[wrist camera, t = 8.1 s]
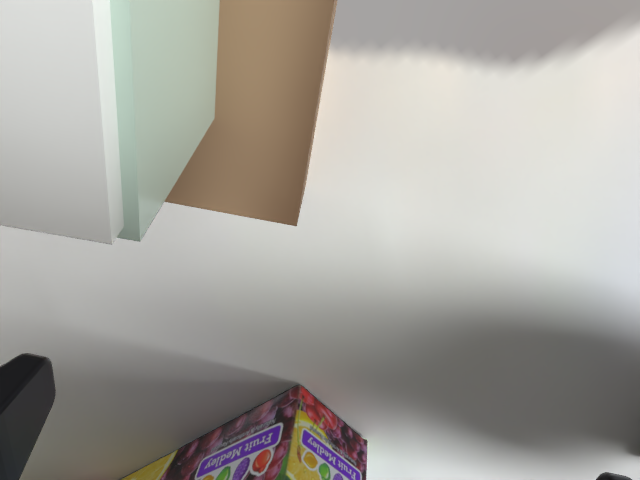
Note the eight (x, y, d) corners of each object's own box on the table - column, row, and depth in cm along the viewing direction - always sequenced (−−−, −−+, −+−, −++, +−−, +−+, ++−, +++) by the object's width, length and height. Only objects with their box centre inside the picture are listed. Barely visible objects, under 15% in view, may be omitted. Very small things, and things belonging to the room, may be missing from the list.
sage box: (223, -85, 13) (111, -29, 8) (214, 118, 16) (128, 259, 11) (6, -124, 13) (-258, -95, 8) (37, 86, 16) (-140, 213, 11)
